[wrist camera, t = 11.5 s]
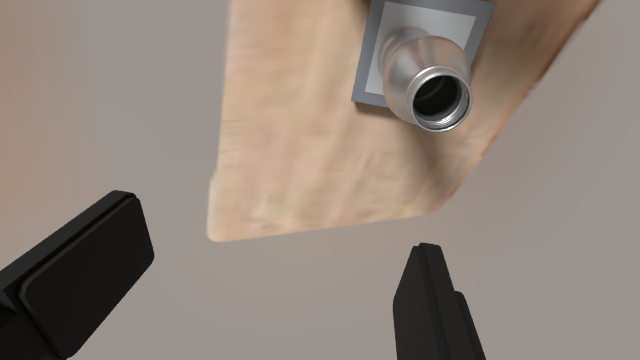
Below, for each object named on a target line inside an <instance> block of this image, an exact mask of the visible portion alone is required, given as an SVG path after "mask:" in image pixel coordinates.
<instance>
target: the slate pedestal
mask: <svg viewBox="0 0 640 360" xmlns="http://www.w3.org/2000/svg"><path fill="white" fill-rule="evenodd" d="M495 4H496V3H492V2H486V1H480V0H371V4H370V9H369V14H368V19H367V24H366V29H365V34H364V39H363V44H362V49H361V53H360V58H359V63H358V68H357V73H356V78H355V83H354V88H353V93H352V98H351V101H355V102H360V103H366V104H371V105H376V106H382V107H387V108H389V106H388V105H387V103H386V101H385V97H384V94H383V78H382V76H381V74H380V72H379V68H378V54H379V50H380V47H381V45H382V43H383V42H384V40H385V39H386V37H387V36H388V35H389V34H390V33H392V32H393V31H395V30H396V29H398V28H401V27H404V26H417V27H421V28H423V29H425V30H426V31H427V32H429V33H430V34H431V35H435V36H441V37H445V38H448V39H450V40H452V41H454V42H455V43H456V44H457V45H458V46H460V47H461V48H462V50H463V51H464V53H465V54H466V56H467V58H468V61H469V64H470V67H471V64H472V62H473V59H474V57H475V54H476V52H477V49H478V47H479V44H480V42H481V39H482V37H483V34H484V32H485V29H486V27H487V24H488V22H489V19H490V17H491V14H492V12H493V9H494V7H495Z"/></svg>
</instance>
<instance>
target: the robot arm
mask: <svg viewBox="0 0 640 360" xmlns="http://www.w3.org/2000/svg"><path fill="white" fill-rule="evenodd" d="M153 260H154V251H153V247H152V243H151V240H150V236H149V232H148V229H147V225H146V221H145V218H144V214H143V210H142V207H141V203H140V200H139V199H138V198H136V195H135V194H134V193H130V192H124V191H118V190H114V191H112V192H110V193H109V194H107V195H106V196H104V197H103V198H102V199H101V200H99V201H97V202H96V203H95V204H93V205H92V206H90V207H89V208H88V209H86V210H85V211H84V212H82V213H81V214H79V215H78V216H77V217H75V218H74V219H72V220H71V221H70V222H68V223H67V224H66V225H64V226H63V227H61V228H60V229H58V230H57V231H56V232H54V233H53V234H51V235H50V236H49V237H47V238H46V239H44V240H43V241H42V242H41V243H39V244H37V245H36V246H35V247H33V248H32V249H30V250H29V251H28V252H26V253H25V254H24V255H22V256H21V257H19V258H18V259H16V260H15V261H14V262H12V263H11V264H10V265H8V266H7V267H5V268H4V269H3V270H1V271H0V360H66V359H67V358H69V357H72V356H73V355H75V353H77V351H78V350H79V349H80V348H81V347H82V346H83V344H84V343H85V342H86V341H87V340H88V338H89V337H90V336H91V335H92V334H93V333H94V331H95V330H96V329H97V328H98V327H99V325H100V324H101V323H102V322H103V321H104V320H105V318H106V317H107V316H108V315H109V314H110V312H111V311H112V310H113V309H114V307H115V306H116V305H117V304H118V303H119V301H121V299H122V298H123V297H124V296H125V295H126V293H127V292H128V291H129V290H130V289H131V287H132V286H133V285H134V284H135V283H136V282H137V280H138V279H139V278H140V277H141V276H142V274H143V273H144V272H145V271H146V270H147V268H148V267H149V266H150V265H151V264H152V262H153ZM393 317H394V328H395V340H396V351H397V360H486V358H485V355H484V352H483V349H482V346H481V343H480V340H479V337H478V334H477V332H476V329H475V326H474V323H473V320H472V317H471V314H470V311H469V308H468V305H467V302H466V300H465V297H464V295H463V294H462V293H461V292H458V291H454V288H453V285H452V281H451V278H450V276H449V272H448V269H447V265H446V262H445V259H444V256H443V252H442V249H441V247H440V246H439V245H434V244H428V243H420V244H419V246H413V248H412V250H411V253H410V256H409V259H408V261H407V264H406V267H405V269H404V272H403V275H402V278H401V280H400V283H399V286H398V288H397V291H396V294H395V296H394V300H393Z"/></svg>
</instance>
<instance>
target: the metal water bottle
mask: <svg viewBox="0 0 640 360" xmlns="http://www.w3.org/2000/svg"><path fill="white" fill-rule="evenodd" d="M378 68H379V72H380V74H381V76H382V78H383V94H384V97H385V101H386V103H387V105H388V106H389V108H390V110H391V111H392V112H393V113H394V114H395V115H396V116H398V117H399V118H400V119H402V120H404V121H406V122H409V123H412V124H416V125H418V126H420V127H421V128H422V129H424V130H426V131H430V132H437V133H439V132H445V131H449V130H451V129H453V128H455V127H456V126H458V125H459V124H461V123H462V121H463V120H464V119H465V118H466V117H467V115H468V114H469V111H470V109H471V105H472V92H471V89H470V83H471V70H470V64H469V61H468V58H467V56H466V54H465V53H464V51H463V50H462V48H461V47H460V46H458V45H457V44H456V43H455V42H454V41H452V40H450V39H448V38H445V37H441V36H435V35H431V34H430V33H429V32H427V31H426V30H425V29H423V28H421V27H417V26H404V27H401V28H398V29H396V30H395V31H393V32H392V33H390V34H389V35H388V36H387V37H386V39H385V40H384V42H383V43H382V45H381V47H380V50H379V54H378Z"/></svg>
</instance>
